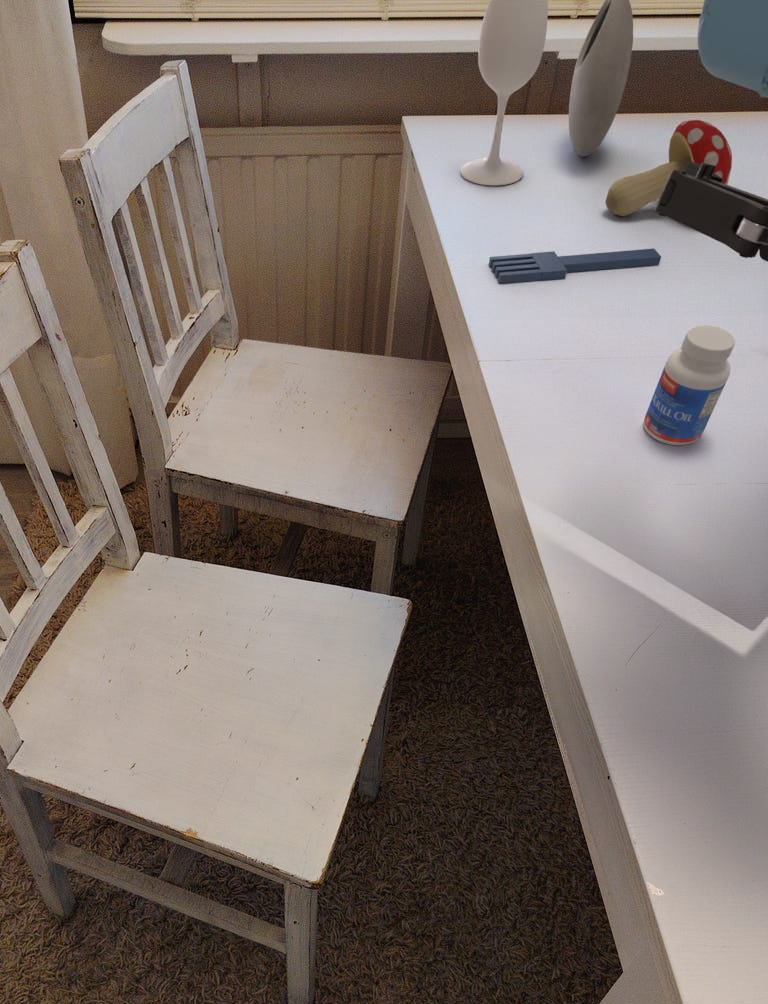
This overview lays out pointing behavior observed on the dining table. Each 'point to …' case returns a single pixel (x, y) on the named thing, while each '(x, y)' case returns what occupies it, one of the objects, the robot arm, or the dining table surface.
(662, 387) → the pill bottle
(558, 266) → the serving fork
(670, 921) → the dining table surface
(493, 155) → the wineglass
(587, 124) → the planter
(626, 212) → the decorative mushroom
